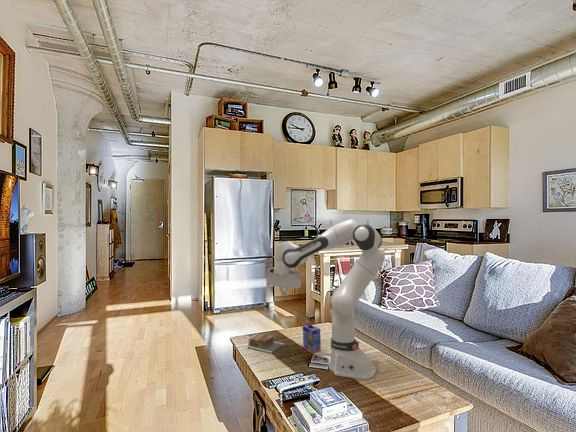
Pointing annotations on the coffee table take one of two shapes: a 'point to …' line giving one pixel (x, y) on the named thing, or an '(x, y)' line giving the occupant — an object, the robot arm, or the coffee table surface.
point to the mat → (270, 349)
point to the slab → (261, 341)
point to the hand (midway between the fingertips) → (283, 294)
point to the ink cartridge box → (311, 338)
